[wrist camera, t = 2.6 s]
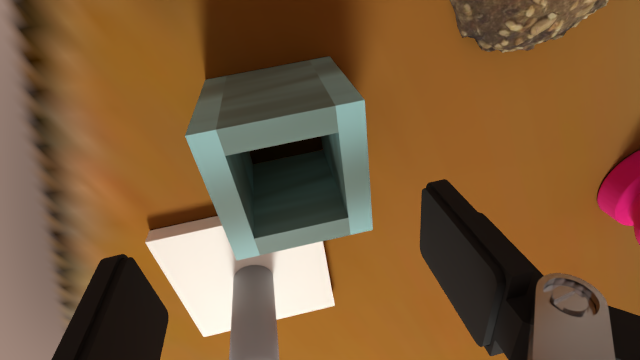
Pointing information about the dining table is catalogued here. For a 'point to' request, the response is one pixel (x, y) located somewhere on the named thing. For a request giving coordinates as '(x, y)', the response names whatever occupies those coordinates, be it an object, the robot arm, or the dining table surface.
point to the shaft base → (217, 263)
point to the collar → (286, 173)
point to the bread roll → (519, 21)
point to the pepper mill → (623, 193)
